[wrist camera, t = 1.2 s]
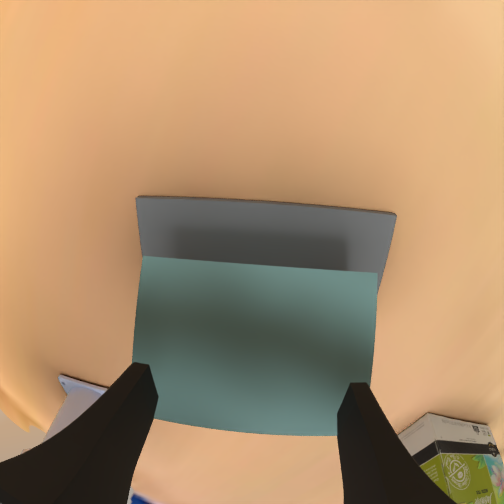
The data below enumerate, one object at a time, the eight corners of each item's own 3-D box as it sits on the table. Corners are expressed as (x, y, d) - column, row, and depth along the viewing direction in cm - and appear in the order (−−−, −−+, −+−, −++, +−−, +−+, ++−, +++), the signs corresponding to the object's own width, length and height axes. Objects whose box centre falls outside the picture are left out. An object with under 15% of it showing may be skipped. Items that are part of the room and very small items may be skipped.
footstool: (337, 406, 16) (362, 434, 11) (164, 391, 16) (130, 412, 11) (347, 286, 17) (377, 272, 12) (174, 273, 18) (143, 255, 13)
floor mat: (338, 399, 23) (338, 402, 22) (169, 385, 24) (168, 388, 23) (394, 212, 15) (396, 215, 15) (138, 195, 16) (135, 198, 16)
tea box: (490, 421, 26) (519, 511, 13) (436, 460, 30) (452, 544, 17) (427, 409, 24) (458, 540, 11) (363, 454, 28) (372, 566, 15)
